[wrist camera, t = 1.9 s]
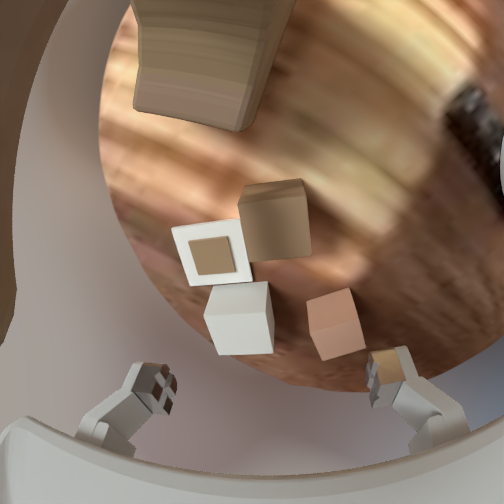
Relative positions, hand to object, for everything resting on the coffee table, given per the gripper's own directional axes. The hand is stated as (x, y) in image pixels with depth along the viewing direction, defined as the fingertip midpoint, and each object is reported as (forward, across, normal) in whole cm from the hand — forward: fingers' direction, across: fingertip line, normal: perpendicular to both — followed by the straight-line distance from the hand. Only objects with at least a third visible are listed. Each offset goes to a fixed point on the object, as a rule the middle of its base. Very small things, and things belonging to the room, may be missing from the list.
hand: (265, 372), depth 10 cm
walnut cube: (+18, 0, 0) cm, 18 cm away
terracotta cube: (+18, -6, +13) cm, 22 cm away
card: (+17, +7, +4) cm, 19 cm away
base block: (+18, +4, +11) cm, 21 cm away
